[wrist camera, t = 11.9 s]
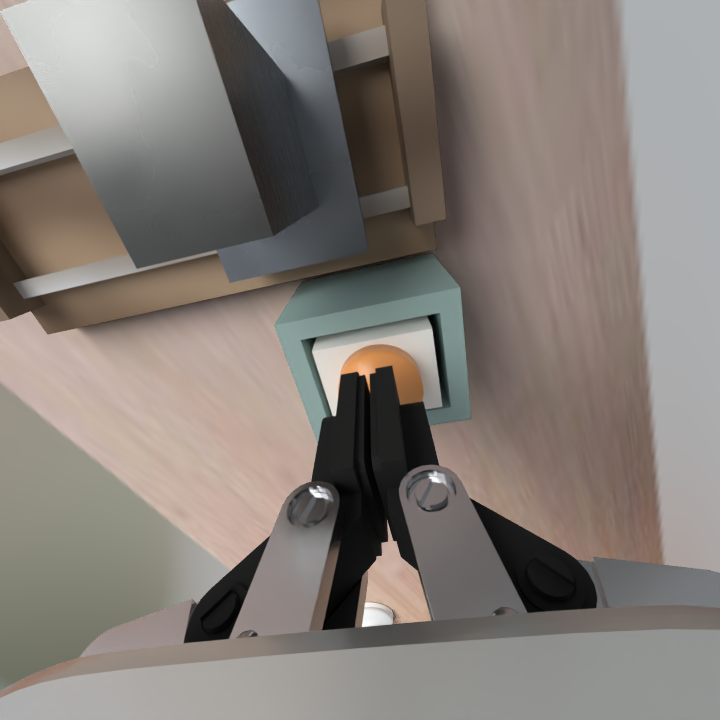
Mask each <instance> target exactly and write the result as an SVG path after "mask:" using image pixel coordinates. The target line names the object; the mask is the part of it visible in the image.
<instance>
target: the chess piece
mask: <svg viewBox="0 0 720 720" xmlns="http://www.w3.org/2000/svg"><path fill="white" fill-rule="evenodd" d="M391 624H393V612H392V610H391V609H390V608H388V607H387V606H385V605H382V604H379V603H374V602H365V607H364V615H363V622H362V627H368V626H380V625H391Z"/></svg>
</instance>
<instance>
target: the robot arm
mask: <svg viewBox="0 0 720 720" xmlns="http://www.w3.org/2000/svg"><path fill="white" fill-rule="evenodd" d="M375 372H376V373H372V374H370V391H369V387H368V384H367V380H366V376H365V375H361V376H359V373H358V372H353V373H347V374H342V375H341V377H340V386H339V394H338V402H337V410H336V416H331V417H325V418H323V419H322V423H321V429H320V434H319V440H318V446H317V452H316V458H315V463H314V469H313V475H312V481H311V482H309V483H306V484H304V485H301V486H300V487H298V488H297V489H295V490H294V491H293V492H292V493H291V494H290V495H289V496H288V497H287V499H286V500H285V502H284V504H283V506H282V508H281V511H280V513H279V516H278V518H277V521H276V523H275V526H274V528H273V531H272V533H271V535H270V536H269V537H268V538H267V539H266V540H265V541H264V542H262V543H261V544H260V545H259V546H258V547H257V548H256V549H255V550H253V551H252V552H251V553H250V554H249V555H248V556H247V557H246V558H245V559H243V560H242V561H241V562H240V563H239V564H238V565H237V566H236V567H235V568H233V569H232V570H231V571H230V572H229V573H228V574H227V575H226V576H224V577H223V578H222V579H221V580H220V581H219V582H218V583H217V584H216V585H215V586H213V587H212V588H211V589H210V590H209V591H208V592H207V593H206V595H204V597H203V598H202V599H201V600H200V601H199V602H195V601H194V600H193V599H191V600H188V601H185V602H183V603H180V604H177V605H174V606H172V607H169V608H166V609H163V610H161V611H158V612H155V613H152V614H150V615H147V616H144V617H141V618H138V619H136V620H133V621H130V622H127V623H125V624H122V625H119V626H116V627H114V628H112V629H110V630H108V631H106V632H104V633H102V634H101V635H100V636H99V637H98V638H97V639H95V640H94V641H93V642H92V643H91V644H90V645H89V646H88V647H87V649H86V650H85V651H84V652H83V653H82V655H81V656H80V657H79V658H78V659H75V660H71V661H68V662H64V663H60V664H58V665H55V666H52V667H50V668H47V669H44V670H42V671H39V672H37V673H35V674H33V675H30V676H28V677H26V678H24V679H22V680H20V681H18V682H16V683H14V684H12V685H10V686H8V687H6V688H4V689H3V690H1V691H0V720H720V573H718V572H714V571H710V570H703V569H694V568H686V567H677V566H668V565H660V564H651V563H642V562H633V561H625V560H616V559H607V558H598V557H593V562H590V561H582V560H576V559H575V558H574V557H572V556H571V555H569V554H568V553H567V552H565V551H563V550H562V549H560V548H558V547H556V546H555V545H553V544H551V543H549V542H547V541H546V540H544V539H542V538H540V537H538V536H537V535H535V534H533V533H531V532H530V531H528V530H526V529H524V528H522V527H521V526H519V525H517V524H515V523H514V522H512V521H510V520H508V519H506V518H505V517H503V516H501V515H499V514H497V513H496V512H494V511H492V510H490V509H489V508H487V507H485V506H483V505H481V504H480V503H478V502H476V501H474V500H472V499H471V498H469V496H468V494H467V492H466V490H465V488H464V486H463V484H462V482H461V480H460V479H459V478H458V476H457V475H456V474H455V473H454V472H452V471H451V470H449V469H448V468H445V467H442V466H439V463H438V459H437V455H436V451H435V446H434V442H433V438H432V434H431V430H430V426H429V422H428V418H427V414H426V410H425V406H424V402H423V401H421V402H415V403H409V404H403V405H400V401H399V396H398V391H397V386H396V381H395V376H394V372H393V367H392V365H391V366H386V367H380V368H376V369H375ZM387 520H388V524H389V527H390V531H391V534H392V538H393V541H397V544H398V548H399V552H400V555H401V557H402V558H403V559H404V560H405V561H407V562H408V563H409V564H410V565H411V566H413V567H414V568H415V569H416V570H417V571H418V574H419V578H420V581H421V585H422V589H423V592H424V596H425V600H426V603H427V607H428V610H429V614H430V618H431V621H426V622H414V623H402V624H391V625H380V626H368V627H362V622H363V615H364V607H365V599H366V592H367V584H368V571H367V570H368V569H369V568H370V566H371V565H372V564H373V563H374V562H375V561H376V556H382V548H381V543H382V542H388V530H387Z"/></svg>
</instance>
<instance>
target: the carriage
mask: <svg viewBox="0 0 720 720" xmlns="http://www.w3.org/2000/svg"><path fill="white" fill-rule="evenodd" d="M0 13H1V15H2V16H3V18H4V20H5V22H6V24H7V26H8V28H9V30H10V32H11V33H12V35H13V37H14V39H15V41H16V43H17V45H18V47H19V48H20V50H21V52H22V54H23V56H24V58H25V60H26V62H27V63H28V65H29V67H30V69H31V71H32V73H33V75H34V77H35V79H36V80H37V82H38V84H39V86H40V88H41V90H42V92H43V94H44V95H45V97H46V99H47V101H48V103H49V105H50V107H51V109H52V110H53V112H54V114H55V116H56V118H57V120H58V122H59V124H60V126H61V127H62V129H63V131H64V133H65V135H66V137H67V139H68V141H69V142H70V144H71V146H72V148H73V150H74V152H75V154H76V156H77V157H78V159H79V161H80V163H81V165H82V167H83V169H84V171H85V173H86V174H87V176H88V178H89V180H90V182H91V184H92V186H93V188H94V189H95V191H96V193H97V195H98V197H99V199H100V201H101V203H102V204H103V206H104V208H105V210H106V212H107V214H108V216H109V218H110V220H111V221H112V223H113V225H114V227H115V229H116V231H117V233H118V235H119V236H120V238H121V240H122V242H123V244H124V246H125V248H126V250H127V251H128V253H129V255H130V257H131V259H132V261H133V263H134V265H135V267H136V268H137V269H139V268H143V267H147V266H151V265H155V264H160V263H164V262H168V261H172V260H176V259H180V258H185V257H189V256H193V255H197V254H201V253H206V252H210V251H214V250H216V251H217V253H218V255H219V258H220V260H221V263H222V265H223V268H224V270H225V273H226V275H227V277H228V280H229V282H230V283H232V282H236V281H241V280H245V279H250V278H254V277H259V276H263V275H267V274H272V273H276V272H281V271H285V270H290V269H294V268H299V267H303V266H308V265H312V264H316V263H321V262H325V261H330V260H334V259H339V258H343V257H348V256H352V255H357V254H361V253H366V252H369V244H368V239H367V234H366V229H365V225H364V220H363V215H362V210H361V205H360V200H359V195H358V190H357V185H356V180H355V175H354V170H353V165H352V160H351V155H350V150H349V145H348V140H347V135H346V130H345V126H344V121H343V116H342V111H341V106H340V101H339V96H338V91H337V86H336V81H335V76H334V71H333V66H332V61H331V56H330V51H329V46H328V41H327V36H326V31H325V27H324V22H323V17H322V12H321V7H320V2H319V0H234V1H231V2H228V3H225V2H224V0H28V1H26V2H23V3H20V4H18V5H15V6H12V7H9V8H7V9H4V10H1V11H0Z"/></svg>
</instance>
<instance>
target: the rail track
mask: <svg viewBox="0 0 720 720" xmlns="http://www.w3.org/2000/svg"><path fill="white" fill-rule="evenodd" d="M231 1H234V0H225V1H224V2H225V3H228V2H231ZM319 2H320V7H321V12H322V17H323V22H324V27H325V31H326V36H327V41H328V46H329V51H330V56H331V61H332V66H333V71H334V76H335V81H336V86H337V91H338V96H339V101H340V106H341V111H342V116H343V121H344V126H345V130H346V135H347V140H348V145H349V150H350V155H351V160H352V165H353V170H354V175H355V180H356V185H357V190H358V195H359V200H360V205H361V210H362V215H363V220H364V225H365V229H366V234H367V239H368V244H369V252H366V253H361V254H357V255H352V256H348V257H343V258H339V259H334V260H330V261H325V262H321V263H316V264H312V265H308V266H303V267H299V268H294V269H290V270H285V271H281V272H276V273H272V274H267V275H263V276H259V277H254V278H250V279H245V280H241V281H236V282H232V283H230V282H229V280H228V277H227V275H226V273H225V270H224V268H223V265H222V263H221V260H220V258H219V255H218V253H217V251H216V250H214V251H210V252H206V253H201V254H197V255H193V256H189V257H185V258H180V259H176V260H172V261H168V262H164V263H160V264H155V265H151V266H147V267H143V268H139V269H137V268H136V267H135V265H134V263H133V261H132V259H131V257H130V255H129V253H128V251H127V250H126V248H125V246H124V244H123V242H122V240H121V238H120V236H119V235H118V233H117V231H116V229H115V227H114V225H113V223H112V221H111V220H110V218H109V216H108V214H107V212H106V210H105V208H104V206H103V204H102V203H101V201H100V199H99V197H98V195H97V193H96V191H95V189H94V188H93V186H92V184H91V182H90V180H89V178H88V176H87V174H86V173H85V171H84V169H83V167H82V165H81V163H80V161H79V159H78V157H77V156H76V154H75V152H74V150H73V148H72V146H71V144H70V142H69V141H68V139H67V137H66V135H65V133H64V131H63V129H62V127H61V126H60V124H59V122H58V120H57V118H56V116H55V114H54V112H53V110H52V109H51V107H50V105H49V103H48V101H47V99H46V97H45V95H44V94H43V92H42V90H41V88H40V86H39V84H38V82H37V80H36V79H35V77H34V75H33V73H32V71H31V69H30V67H26V68H23V69H20V70H17V71H14V72H11V73H8V74H5V75H2V76H0V321H5V320H9V319H12V318H14V317H17V316H19V315H22V314H24V313H27V312H29V311H31V312H32V313H33V315H34V316H35V317H36V319H37V320H38V322H39V323H40V324H41V326H42V327H43V329H44V330H45V331H46V333H47V334H52V333H57V332H61V331H66V330H70V329H75V328H79V327H84V326H89V325H93V324H98V323H102V322H107V321H111V320H116V319H120V318H125V317H130V316H134V315H139V314H143V313H148V312H152V311H157V310H161V309H166V308H170V307H175V306H180V305H184V304H189V303H193V302H198V301H202V300H207V299H211V298H216V297H221V296H225V295H230V294H234V293H239V292H243V291H248V290H252V289H257V288H261V287H266V286H271V285H275V284H280V283H284V282H289V281H293V280H298V279H302V278H307V277H311V276H316V275H321V274H325V273H330V272H334V271H339V270H343V269H348V268H352V267H357V266H362V265H366V264H371V263H375V262H380V261H384V260H389V259H393V258H398V257H402V256H407V255H412V254H416V253H421V252H425V251H430V250H434V249H436V240H435V231H434V222H435V221H439V220H444V219H446V211H445V200H444V190H443V179H442V168H441V158H440V147H439V136H438V126H437V115H436V104H435V94H434V83H433V73H432V62H431V51H430V41H429V30H428V19H427V9H426V0H319Z"/></svg>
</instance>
